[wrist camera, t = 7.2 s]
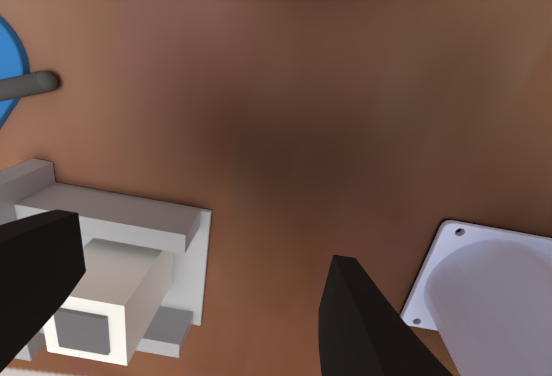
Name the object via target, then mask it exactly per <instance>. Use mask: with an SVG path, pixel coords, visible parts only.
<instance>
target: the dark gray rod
mask: <svg viewBox="0 0 552 376" xmlns="http://www.w3.org/2000/svg"><path fill="white" fill-rule="evenodd" d="M56 87H57V79H56V78H55V76H54V75H53V74H51V73H50V72H47V71H38V72H34V73H29V74H25V75H20V76H15V77H11V78H6V79H2V80H0V102H1V101H5V100H10V99H15V98H20V97H25V96H30V95H35V94H39V93H44V92H49V91H52V90H54V89H55V88H56Z"/></svg>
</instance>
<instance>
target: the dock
mask: <svg viewBox="0 0 552 376" xmlns="http://www.w3.org/2000/svg"><path fill="white" fill-rule="evenodd" d="M56 209H58V210H64V211H70V212H76V213H78V214H79V222H80V229H81V237H82V244H83V247H84V246H85V245H86V244H87V243H89V242H90V241H91V240H92V239H93V238H98V239H104V240H109V241H115V242H121V243H126V244H132V245H137V246H143V247H148V248H154V249H160V250H165V251H171V252H173V268H172V284H171V286H170V288H169V290H168V292H167V294H166V295H165V297H164V299H163V301H162V303H161V305H160V306H159V308H158V310H157V312H156V314H155V315H154V317H153V319H152V321H151V323H150V325H149V326H148V328H147V330H146V332H145V334H144V336H143V337H142V339H141V341H140V343H139V345H138V347H137V348H136V350H138V351H143V352H149V353H155V354H160V355H166V356H171V357H177V358H179V356H180V354H181V351H182V349H183V346H184V343H185V341H186V338H187V336H188V333H189V331H190V328H191V326H192V324H194V325H201V322H202V312H203V301H204V290H205V279H206V268H207V258H208V247H209V236H210V225H211V214H212V210H208V209H202V208H197V207H191V206H186V205H180V204H175V203H169V202H164V201H158V200H153V199H147V198H141V197H136V196H130V195H125V194H119V193H114V192H108V191H103V190H97V189H92V188H86V187H80V186H75V185H69V184H64V183H58V182H55V175H54V168H53V162H50V161H45V160H39V159H34V158H32V159H30V160H27V161H25V162H22V163H20V164H17V165H15V166H12V167H10V168H7V169H5V170H2V171H0V225H2V224H5V223H8V222H12V221H15V220H18V219H22V218H25V217H28V216H32V215H35V214H39V213H43V212H47V211H52V210H56ZM45 344H46V339H45V334H44V329H43V327H42V328H41V329H40V330H39V331H38V333H37V334H36V335H35V336H34V337H33V338H32V339H31V340H30V341H29V342H28V343H27V345H26V346H25V347H24V348H23V349H22V350H21V351H20V352H19V353H18V354H17V355H16V356H15V358H17V359H22V360H28V361H32V359H33V358H34V357H35V356H36V355H37V354H38V352H39V351H40V350H41V349H42V348H43V347H44V346H45Z"/></svg>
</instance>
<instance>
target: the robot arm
mask: <svg viewBox="0 0 552 376" xmlns="http://www.w3.org/2000/svg"><path fill="white" fill-rule="evenodd" d="M459 228H462V229H461V231H460V232H457V233H455V231H456V230H457V229H459ZM85 272H86V267H85V260H84V252H83V244H82V237H81V229H80V222H79V214H78V213H76V212H70V211H64V210H58V209H56V210H52V211H47V212H43V213H39V214H35V215H32V216H28V217H25V218H22V219H18V220H15V221H12V222H8V223H5V224H2V225H0V373H1V372H2V371H3V370H4V368H5V367H6V366H7V365H8V364H9V363H10V362H11V361H12V360H13V359H14V358H15V356H16V355H17V354H18V353H19V352H20V351H21V350H22V349H23V348H24V347H25V346H26V345H27V343H28V342H29V341H30V340H31V339H32V338H33V337H34V336H35V335H36V334H37V333H38V331H39V330H40V329H41V328H42V327H43V326H44V325H45V324H46V323H47V321H48V320H49V319H50V318H51V317H52V316H53V315H54V314H55V313H56V311H57V310H58V309H59V308H60V307H61V306H62V305H63V303H64V302H65V301H66V299H67V298H68V297H69V295H70V294H71V293H72V291H73V290H74V289H75V287H76V286H77V284H78V283H79V281H80V280H81V278H82V277H83V275H84V274H85ZM414 319H416V320H414ZM408 325H409V326H415V327H420V328H426V329H431V330H437V331H439V333H440V335H441V337H442V339H443V341H444V343H445V345H446V347H447V349H448V351H449V353H450V355H451V357H452V359H453V361H454V364H455V366H456V368H457V370H458V372H459V374H460V376H552V238H548V237H542V236H537V235H531V234H526V233H520V232H515V231H509V230H504V229H498V228H493V227H487V226H482V225H476V224H471V223H465V222H459V221H454V220H447V221H445V222H443V223H442V224H441V226H440V228H439V230H438V232H437V234H436V237H435V239H434V241H433V243H432V246H431V248H430V250H429V252H428V254H427V257H426V259H425V261H424V263H423V266H422V268H421V270H420V272H419V275H418V277H417V279H416V281H415V284H414V286H413V288H412V290H411V292H410V295H409V297H408V299H407V301H406V304H405V306H404V308H403V310H402V313H401V315H400V316H399V314H398V313H397V312H396V311H395V309H394V308H393V307H392V306H391V304H390V303H389V302H388V301H387V299H386V298H385V297H384V295H383V294H382V293H381V292H380V290H379V289H378V288H377V286H376V285H375V284H374V282H373V281H372V280H371V278H370V277H369V276H368V274H367V273H366V272H365V270H364V269H363V268H362V266H361V265H360V264H359V262H358V261H357V260H356V258H351V257H345V256H339V255H333V258H332V262H331V266H330V269H329V273H328V277H327V280H326V284H325V288H324V292H323V295H322V299H321V303H320V307H319V354H320V363H321V372H322V376H453V375H452V374H451V373H450V372H449V371H448V370H447V369H446V368H445V367H444V366H443V365H442V364H441V363H440V362H439V360H438V359H437V358H436V357H435V356H434V355H433V354H432V353H431V352H430V350H429V349H428V348H427V347H426V346H425V345H424V344H423V343H422V341H421V340H420V339H419V338H418V337H417V336H416V335H415V334H414V332H413V331H412V330H411V329H410V328H409V327H408Z"/></svg>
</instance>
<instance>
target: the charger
mask: <svg viewBox="0 0 552 376" xmlns="http://www.w3.org/2000/svg"><path fill="white" fill-rule="evenodd" d="M83 252H84V260H85V267H86V272H85V274H84V275H83V277H82V278H81V280H80V281H79V283H78V284H77V286H76V287H75V289H74V290H73V291H72V293H71V294H70V295H69V297H68V298H67V299H66V301H65V302H64V303H63V305H62V306H61V307H60V308H59V309H58V310H57V311H56V313H55V314H54V315H53V316H52V317H51V318H50V319H49V320H48V321H47V323H46V324H45V325H44V326H43V329H44V334H45V339H46V345H47V350H48V352H53V353H59V354H64V355H70V356H75V357H81V358H87V359H92V360H98V361H103V362H109V363H115V364H120V365H126V366H127V365H128V363H129V361H130V359H131V357H132V356H133V354H134V352H135V350H136V348H137V347H138V345H139V343H140V341H141V339H142V337H143V336H144V334H145V332H146V330H147V328H148V326H149V325H150V323H151V321H152V319H153V317H154V315H155V314H156V312H157V310H158V308H159V306H160V305H161V303H162V301H163V299H164V297H165V295H166V294H167V292H168V290H169V288H170V286H171V284H172V268H173V252H171V251H165V250H160V249H154V248H148V247H143V246H137V245H132V244H126V243H121V242H115V241H109V240H104V239H98V238H93V239H92V240H91V241H90V242H89V243H87V244H86V245H85V246H84V247H83Z"/></svg>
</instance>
